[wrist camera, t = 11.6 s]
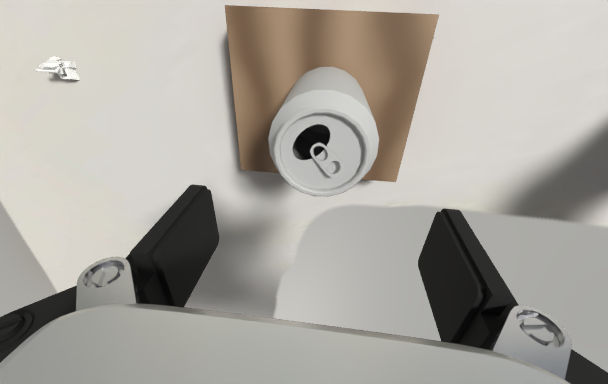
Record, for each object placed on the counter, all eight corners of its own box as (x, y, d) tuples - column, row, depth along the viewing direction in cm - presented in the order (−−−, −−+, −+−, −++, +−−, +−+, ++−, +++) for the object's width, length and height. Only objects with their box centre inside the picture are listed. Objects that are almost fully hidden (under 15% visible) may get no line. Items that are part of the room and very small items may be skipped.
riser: (422, 15, 26) (439, 14, 22) (388, 162, 35) (395, 182, 31) (241, 7, 28) (224, 5, 23) (251, 152, 36) (241, 169, 32)
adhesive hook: (75, 56, 32) (52, 59, 29) (85, 79, 33) (63, 85, 31) (52, 55, 32) (26, 59, 30) (62, 79, 34) (39, 84, 31)
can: (326, 45, 24) (321, 65, 14) (380, 105, 27) (408, 158, 17) (273, 106, 28) (239, 156, 18) (325, 154, 30) (321, 223, 20)
